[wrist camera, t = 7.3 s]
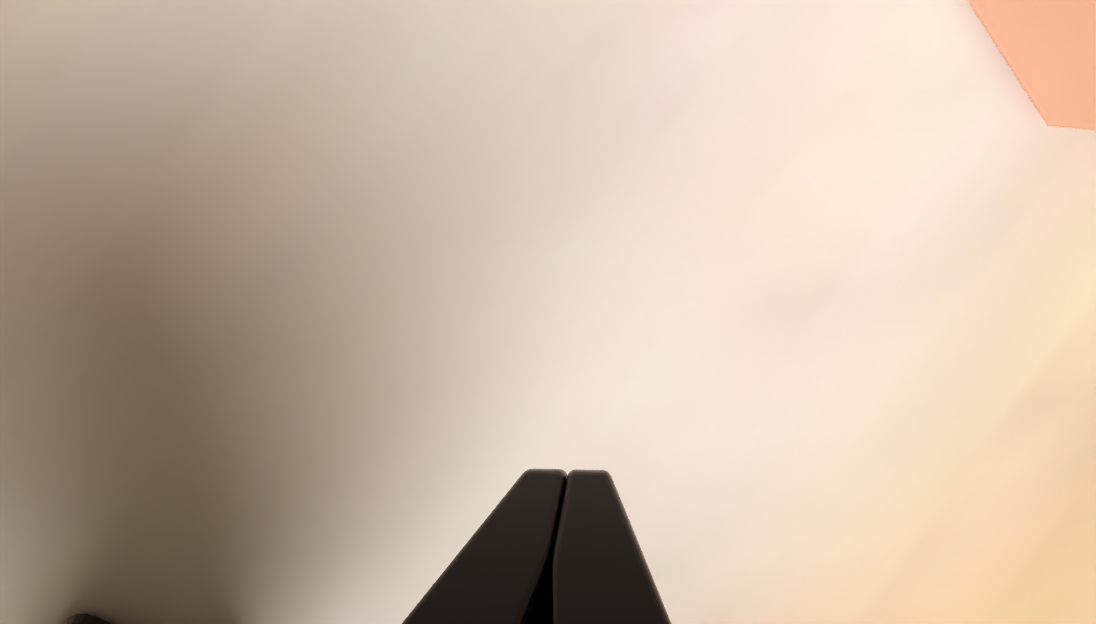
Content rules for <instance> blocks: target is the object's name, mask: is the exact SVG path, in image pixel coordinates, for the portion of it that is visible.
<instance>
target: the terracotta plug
mask: <svg viewBox="0 0 1096 624" xmlns="http://www.w3.org/2000/svg"><path fill="white" fill-rule="evenodd" d="M968 2H969V3H970V5H971V6H972V8H973V10H974V11H975V13H976V14H977V16H978V17H979V19H980V21H981V22H982V24H983V25H984V27H985V28H986V30H987V32H988V33H989V35H990V36H991V38H992V39H993V41H994V43H995V44H996V46H997V47H998V49H999V50H1000V52H1001V54H1002V55H1003V57H1004V58H1005V60H1006V61H1007V63H1008V65H1009V66H1010V68H1011V69H1012V71H1013V72H1014V74H1015V76H1016V77H1017V79H1018V80H1019V82H1020V83H1021V85H1022V86H1023V88H1024V90H1025V91H1026V93H1027V94H1028V96H1029V97H1030V99H1031V101H1032V102H1033V104H1034V105H1035V107H1036V108H1037V110H1038V112H1039V113H1040V115H1041V116H1042V118H1043V119H1044V121H1045V123H1046V124H1047V126H1056V127H1066V128H1076V129H1086V130H1096V0H968Z"/></svg>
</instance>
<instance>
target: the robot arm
mask: <svg viewBox="0 0 1096 624" xmlns="http://www.w3.org/2000/svg"><path fill="white" fill-rule="evenodd" d="M64 624H111V623H109V622H107V621H104V620H102V619H100V618H98V617H96V616H93V615H90V614H76V615H74V616H72V617H69V618H68V619H67V620H66V621H65V622H64ZM402 624H671V622H670V619H669V617H668V614H667V612H666V609H665V607H664V605H663V602H662V600H661V597H660V595H659V592H658V590H657V587H656V585H655V583H654V580H653V578H652V575H651V573H650V570H649V568H648V565H647V563H646V561H645V558H644V556H643V553H642V551H641V548H640V546H639V543H638V541H637V538H636V536H635V534H634V531H633V529H632V526H631V524H630V521H629V519H628V516H627V514H626V512H625V509H624V507H623V504H622V502H621V499H620V497H619V494H618V492H617V490H616V487H615V485H614V482H613V480H612V477H611V475H610V474H609V473H608V472H607V471H604V470H572V471H571V472H570V473H569V474H568V476H567V474H566V472H565V471H563V470H560V469H529V470H527V471H525V472H524V473H523V474H522V475H521V477H520V478H519V479H518V480H517V482H516V483H515V484H514V485H513V487H512V488H511V489H510V490H509V491H508V493H507V494H506V495H505V496H504V498H503V499H502V500H501V501H500V503H499V504H498V505H497V506H496V508H495V509H494V510H493V511H492V513H491V514H490V515H489V516H488V518H487V519H486V520H485V521H484V523H483V524H482V525H481V526H480V527H479V529H478V530H477V531H476V532H475V534H474V535H473V536H472V537H471V539H470V540H469V541H468V542H467V544H466V545H465V546H464V547H463V549H462V550H461V551H460V552H459V554H458V555H457V556H456V557H455V558H454V560H453V561H452V562H451V563H450V565H449V566H448V567H447V568H446V570H445V571H444V572H443V573H442V575H441V576H440V577H439V578H438V580H437V581H436V582H435V583H434V585H433V586H432V587H431V588H430V589H429V591H428V592H427V593H426V594H425V596H424V597H423V598H422V599H421V601H420V602H419V603H418V604H417V606H416V607H415V608H414V609H413V611H412V612H411V613H410V614H409V616H408V617H407V618H406V619H405V620H404V622H403V623H402Z"/></svg>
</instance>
